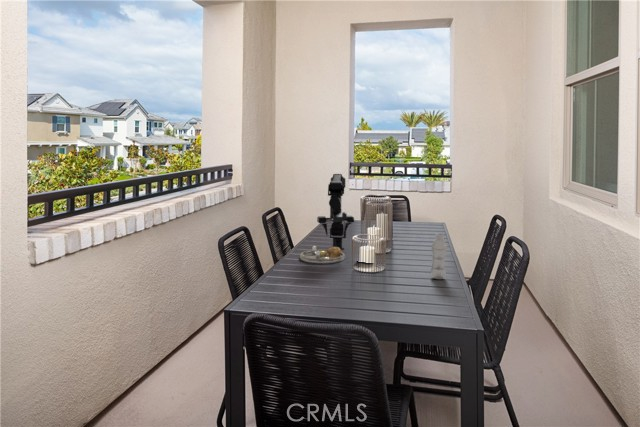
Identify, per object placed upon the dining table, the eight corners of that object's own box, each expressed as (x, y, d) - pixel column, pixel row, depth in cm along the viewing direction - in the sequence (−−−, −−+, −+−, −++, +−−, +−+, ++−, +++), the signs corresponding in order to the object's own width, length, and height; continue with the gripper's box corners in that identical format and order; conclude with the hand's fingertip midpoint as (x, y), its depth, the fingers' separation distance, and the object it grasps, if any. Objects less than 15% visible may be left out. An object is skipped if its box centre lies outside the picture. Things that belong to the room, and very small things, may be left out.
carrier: (297, 254, 262) (297, 244, 261) (339, 252, 266) (339, 243, 265) (303, 264, 240) (303, 254, 239) (348, 262, 244) (348, 252, 243)
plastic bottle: (433, 276, 219) (434, 232, 216) (447, 278, 215) (449, 234, 212) (427, 279, 214) (429, 234, 211) (442, 281, 210) (444, 236, 207)
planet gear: (327, 254, 257) (327, 246, 256) (339, 253, 258) (339, 246, 257) (329, 257, 250) (329, 249, 250) (342, 256, 251) (342, 248, 251)
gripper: (320, 208, 241) (320, 239, 243) (356, 207, 244) (356, 238, 246) (317, 205, 252) (316, 235, 254) (351, 205, 255) (351, 234, 257)
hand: (335, 235), depth 253 cm, fingers open, 9 cm apart
